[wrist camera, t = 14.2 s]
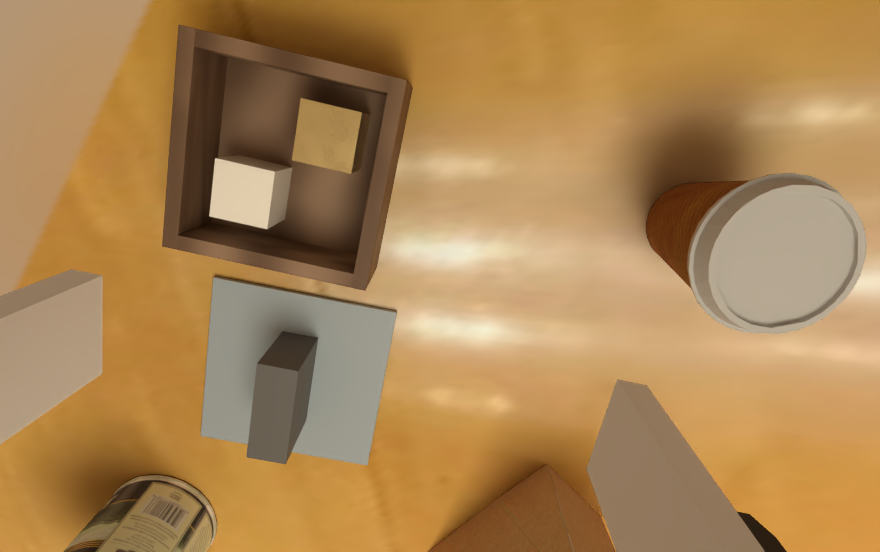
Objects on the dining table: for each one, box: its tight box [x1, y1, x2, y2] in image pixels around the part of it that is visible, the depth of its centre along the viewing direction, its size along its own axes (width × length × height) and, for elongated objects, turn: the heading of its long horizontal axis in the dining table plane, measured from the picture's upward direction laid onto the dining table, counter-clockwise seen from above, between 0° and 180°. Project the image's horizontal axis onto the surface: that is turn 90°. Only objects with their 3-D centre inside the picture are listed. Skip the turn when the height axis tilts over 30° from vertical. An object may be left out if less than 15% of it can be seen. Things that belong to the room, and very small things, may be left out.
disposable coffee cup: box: [646, 173, 866, 334], centre depth 34 cm, size 10×10×12 cm
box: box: [162, 25, 412, 291], centre depth 35 cm, size 14×14×6 cm
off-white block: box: [209, 155, 292, 229], centre depth 36 cm, size 4×4×4 cm
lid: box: [201, 276, 397, 465], centre depth 40 cm, size 15×15×7 cm
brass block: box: [292, 98, 371, 174], centre depth 35 cm, size 4×4×4 cm
